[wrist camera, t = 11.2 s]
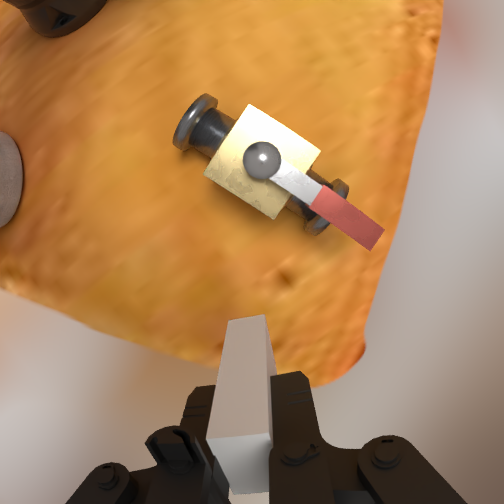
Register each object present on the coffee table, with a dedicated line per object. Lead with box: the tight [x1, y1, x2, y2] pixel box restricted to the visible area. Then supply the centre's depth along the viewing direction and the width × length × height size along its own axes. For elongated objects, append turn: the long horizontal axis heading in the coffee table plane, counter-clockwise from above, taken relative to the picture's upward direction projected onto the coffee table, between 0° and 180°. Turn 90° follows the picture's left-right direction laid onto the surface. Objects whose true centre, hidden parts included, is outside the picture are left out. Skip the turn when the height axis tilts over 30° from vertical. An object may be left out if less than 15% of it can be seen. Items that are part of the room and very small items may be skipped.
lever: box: [243, 141, 384, 251], centre depth 28 cm, size 14×3×3 cm, turn 57°
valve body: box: [173, 93, 349, 236], centre depth 33 cm, size 18×8×8 cm, turn 57°
